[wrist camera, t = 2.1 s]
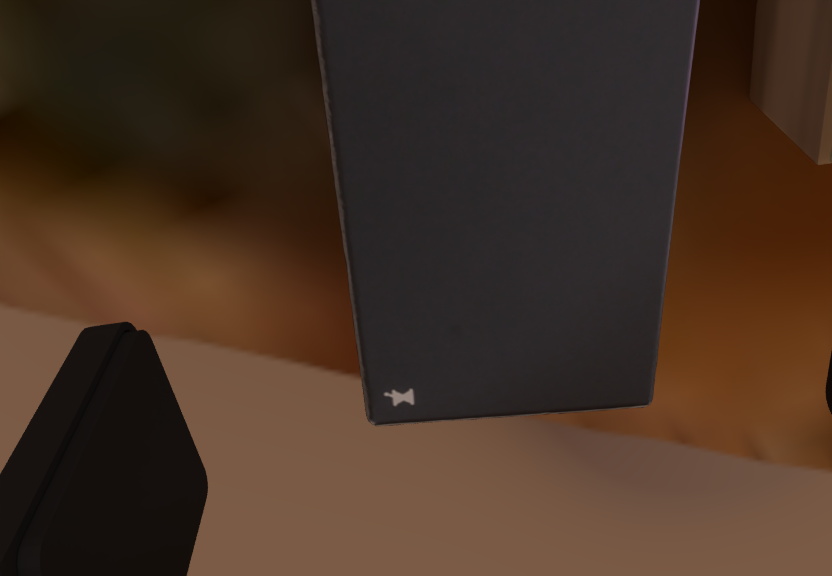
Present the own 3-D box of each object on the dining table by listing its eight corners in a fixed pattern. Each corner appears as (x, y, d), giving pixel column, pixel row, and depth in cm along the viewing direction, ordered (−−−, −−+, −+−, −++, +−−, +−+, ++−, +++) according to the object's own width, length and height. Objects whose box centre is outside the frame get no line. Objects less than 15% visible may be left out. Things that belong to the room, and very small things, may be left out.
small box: (578, 196, 25) (667, 423, 17) (375, 209, 26) (355, 439, 17) (596, -189, 20) (747, -155, 11) (333, -167, 20) (271, -118, 11)
